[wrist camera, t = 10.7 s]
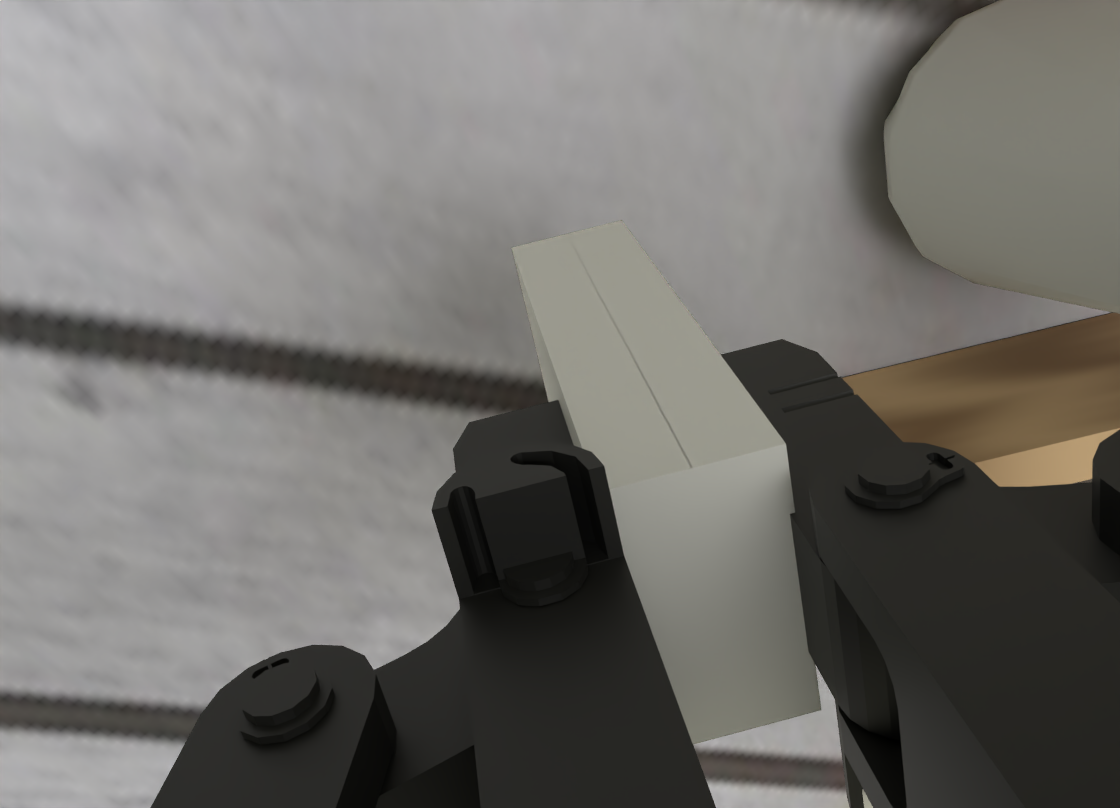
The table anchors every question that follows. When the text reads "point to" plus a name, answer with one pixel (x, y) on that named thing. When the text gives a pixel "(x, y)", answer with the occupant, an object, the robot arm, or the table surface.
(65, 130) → the table surface
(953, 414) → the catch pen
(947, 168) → the salt shaker
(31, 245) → the table surface
